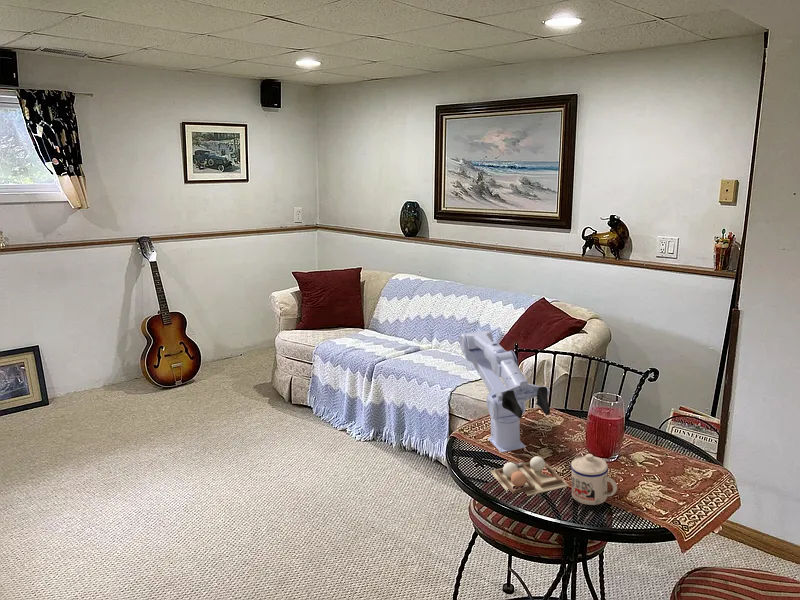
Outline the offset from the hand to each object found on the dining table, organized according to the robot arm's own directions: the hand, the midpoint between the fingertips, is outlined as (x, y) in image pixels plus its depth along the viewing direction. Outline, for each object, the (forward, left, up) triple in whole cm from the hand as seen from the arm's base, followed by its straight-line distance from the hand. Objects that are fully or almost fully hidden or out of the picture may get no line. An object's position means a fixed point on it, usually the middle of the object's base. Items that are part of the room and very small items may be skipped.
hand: (534, 413), depth 173 cm
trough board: (-1, -2, -19) cm, 20 cm away
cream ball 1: (-4, -6, -19) cm, 20 cm away
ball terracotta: (+1, -6, -19) cm, 20 cm away
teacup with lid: (+13, +9, -20) cm, 26 cm away
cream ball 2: (-4, +2, -19) cm, 20 cm away
